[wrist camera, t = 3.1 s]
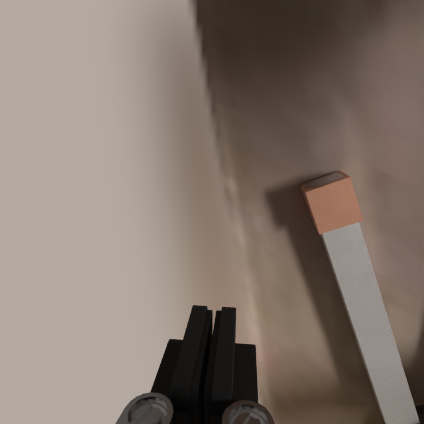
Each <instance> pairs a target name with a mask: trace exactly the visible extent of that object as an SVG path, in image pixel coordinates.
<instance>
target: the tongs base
mask: <svg viewBox="0 0 424 424" xmlns="http://www.w3.org/2000/svg"><path fill="white" fill-rule="evenodd" d="M415 408H416V412H417V415H418V418H419V422H420V423H418V424H424V406H416V407H415Z"/></svg>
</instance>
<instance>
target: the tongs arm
mask: <svg viewBox="0 0 424 424" xmlns="http://www.w3.org/2000/svg"><path fill="white" fill-rule="evenodd" d="M300 187H301V190H302V193H303V196H304V199H305V202H306V205H307V207H308V210H309V213H310V216H311V219H312V222H313V224H314V226H315V228H316V229H317V231H318V233H319V235H320V237H321V240H322V243H323V246H324V249H325V252H326V255H327V258H328V261H329V263H330V266H331V269H332V272H333V275H334V278H335V281H336V284H337V287H338V290H339V293H340V296H341V299H342V302H343V305H344V308H345V311H346V314H347V317H348V320H349V323H350V326H351V329H352V331H353V334H354V337H355V340H356V343H357V346H358V349H359V352H360V355H361V358H362V361H363V364H364V367H365V370H366V373H367V376H368V379H369V382H370V385H371V388H372V391H373V394H374V397H375V400H376V402H377V405H378V408H379V410H380V413H381V415H382V417H383V419H384V422H385V424H418V423H420V422H419V418H418V415H417V412H416V408H415V405H414V402H413V399H412V395H411V392H410V389H409V385H408V382H407V379H406V376H405V372H404V369H403V366H402V362H401V359H400V356H399V353H398V349H397V346H396V343H395V339H394V336H393V333H392V330H391V326H390V323H389V320H388V316H387V313H386V310H385V307H384V303H383V300H382V297H381V293H380V290H379V287H378V284H377V280H376V277H375V274H374V270H373V267H372V264H371V261H370V257H369V254H368V251H367V247H366V244H365V241H364V238H363V234H362V231H361V228H360V224H359V222H361V221H363V218H362V215H361V211H360V208H359V205H358V201H357V198H356V195H355V191H354V188H353V185H352V181H351V178H350V177H349V176H348V175H346V174H344V173H343V172H341V171H337V172H335V173H332V174H329V175H326V176H323V177H321V178H318V179H315V180H312V181H309V182H307V183H304V184H301V185H300Z"/></svg>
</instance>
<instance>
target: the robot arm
mask: <svg viewBox="0 0 424 424" xmlns="http://www.w3.org/2000/svg"><path fill="white" fill-rule="evenodd" d="M235 329H236V308H233V307H232V308H231V307H222V311H216V317H215V323H214V330H213V336H212V310H207V306H196V305H193V307H192V311H191V314H190V317H189V321H188V324H187V328H186V331H185V335H184V339H183V340H177V339H170V340H169V342H168V344H167V347H166V350H165V353H164V355H163V358H162V361H161V364H160V367H159V369H158V372H157V375H156V378H155V381H154V384H153V387H152V389H151V392H150V393H145V394H142V395H140V396H137V397H136V398H134V399H133V400H132V401H130V402H129V404H128V405H127V406H126V407H125V409H124V410H123V412H122V414H121V415H120V417H119V419H118V420H117V422H116V424H274V421H273V418H272V416H271V414H270V413H269V411H268V410H267V409H266V408H265V407H263V406H262V405H261V404H259V403H258V388H257V367H256V346H255V345H252V344H237V343H235V332H236V331H235Z"/></svg>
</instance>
